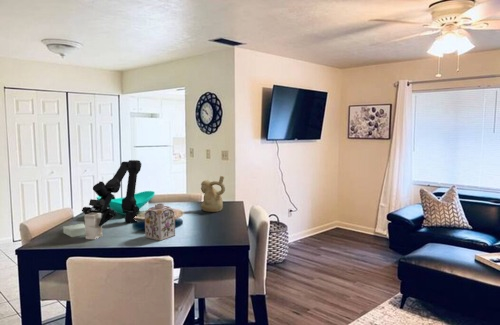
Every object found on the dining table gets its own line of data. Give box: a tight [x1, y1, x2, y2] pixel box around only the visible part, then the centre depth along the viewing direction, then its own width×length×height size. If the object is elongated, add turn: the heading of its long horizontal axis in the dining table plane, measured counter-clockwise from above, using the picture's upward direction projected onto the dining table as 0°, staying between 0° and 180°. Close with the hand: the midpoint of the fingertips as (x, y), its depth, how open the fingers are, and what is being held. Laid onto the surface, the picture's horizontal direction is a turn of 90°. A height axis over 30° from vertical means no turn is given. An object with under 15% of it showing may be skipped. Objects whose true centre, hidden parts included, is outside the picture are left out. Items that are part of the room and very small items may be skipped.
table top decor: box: [96, 190, 156, 215], centre depth 256 cm, size 40×28×13 cm
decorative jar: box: [144, 202, 176, 242], centre depth 199 cm, size 12×12×18 cm
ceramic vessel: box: [200, 175, 226, 213], centre depth 262 cm, size 17×20×25 cm
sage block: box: [62, 222, 85, 238], centre depth 208 cm, size 12×12×4 cm
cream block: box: [83, 212, 104, 240], centre depth 198 cm, size 6×6×13 cm
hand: (92, 225), depth 197 cm, fingers open, 9 cm apart
